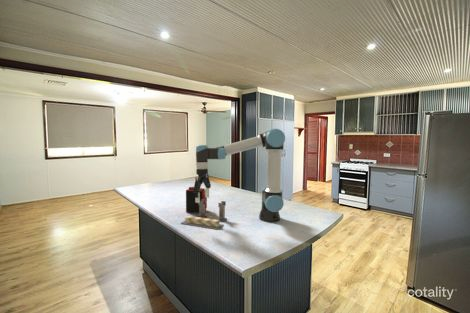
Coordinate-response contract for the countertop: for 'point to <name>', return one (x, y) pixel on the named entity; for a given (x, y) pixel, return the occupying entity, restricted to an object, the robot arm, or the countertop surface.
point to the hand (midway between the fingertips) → (202, 199)
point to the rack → (220, 218)
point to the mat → (203, 225)
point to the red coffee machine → (190, 200)
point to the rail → (202, 221)
